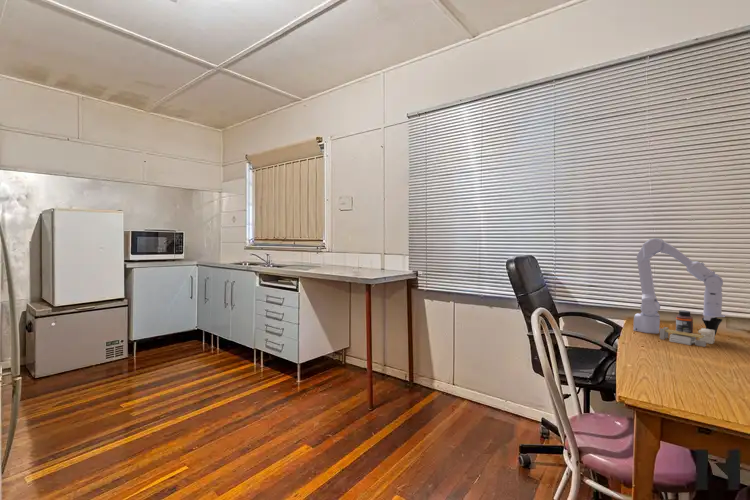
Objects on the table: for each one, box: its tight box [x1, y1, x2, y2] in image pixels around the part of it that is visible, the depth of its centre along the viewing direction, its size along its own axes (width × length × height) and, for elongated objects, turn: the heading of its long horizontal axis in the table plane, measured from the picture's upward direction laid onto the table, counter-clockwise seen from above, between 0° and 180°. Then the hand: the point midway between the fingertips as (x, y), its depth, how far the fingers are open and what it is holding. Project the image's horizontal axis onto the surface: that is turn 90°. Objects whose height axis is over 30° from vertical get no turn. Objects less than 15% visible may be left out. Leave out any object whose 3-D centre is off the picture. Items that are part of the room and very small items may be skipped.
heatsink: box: [668, 333, 697, 346], centre depth 160 cm, size 7×7×3 cm
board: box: [659, 326, 707, 348], centre depth 160 cm, size 16×22×6 cm
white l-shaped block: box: [697, 327, 716, 345], centre depth 158 cm, size 4×7×5 cm, turn 125°
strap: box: [665, 329, 704, 339], centre depth 160 cm, size 13×2×1 cm, turn 35°
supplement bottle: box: [675, 309, 694, 334], centre depth 175 cm, size 6×6×11 cm
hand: (711, 335), depth 162 cm, fingers closed
